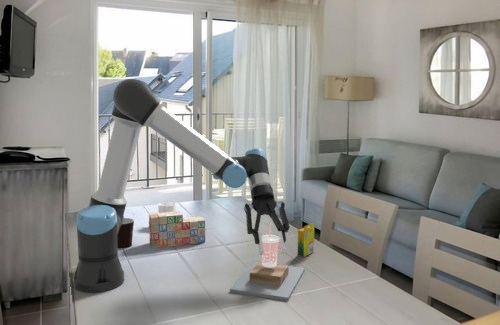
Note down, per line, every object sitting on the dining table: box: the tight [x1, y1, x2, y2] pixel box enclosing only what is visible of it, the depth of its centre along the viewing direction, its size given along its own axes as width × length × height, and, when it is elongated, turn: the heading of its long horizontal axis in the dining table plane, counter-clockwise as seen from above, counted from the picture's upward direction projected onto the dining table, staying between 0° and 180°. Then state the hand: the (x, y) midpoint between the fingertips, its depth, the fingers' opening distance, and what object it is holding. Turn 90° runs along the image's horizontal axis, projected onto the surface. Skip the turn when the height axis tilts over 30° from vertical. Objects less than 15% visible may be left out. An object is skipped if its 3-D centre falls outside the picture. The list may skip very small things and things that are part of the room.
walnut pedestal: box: [250, 261, 289, 286], centre depth 146 cm, size 10×10×4 cm
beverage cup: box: [261, 221, 280, 267], centre depth 145 cm, size 6×6×14 cm
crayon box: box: [297, 222, 315, 258], centre depth 171 cm, size 7×3×12 cm, turn 141°
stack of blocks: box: [148, 210, 206, 249], centre depth 182 cm, size 21×6×12 cm, turn 109°
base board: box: [229, 261, 305, 302], centre depth 146 cm, size 24×18×1 cm
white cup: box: [157, 201, 177, 213], centre depth 205 cm, size 8×8×10 cm
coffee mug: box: [117, 217, 135, 250], centre depth 179 cm, size 12×9×10 cm
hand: (272, 252), depth 141 cm, fingers closed on beverage cup, 6 cm apart
